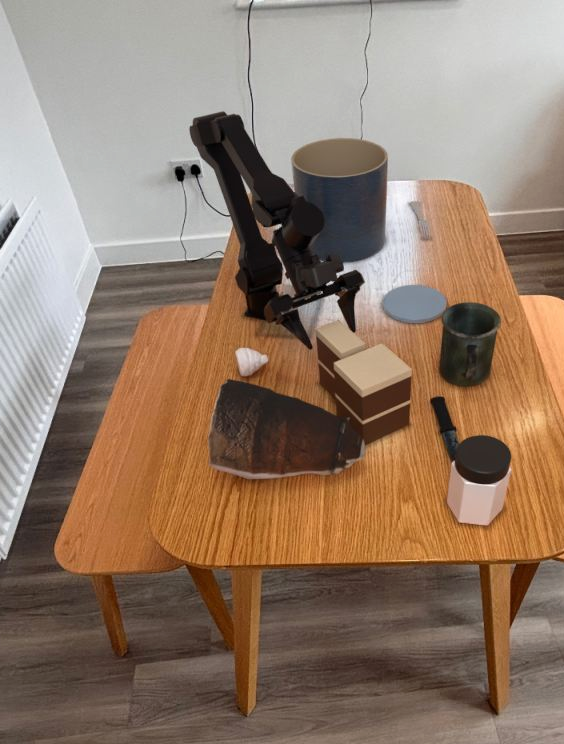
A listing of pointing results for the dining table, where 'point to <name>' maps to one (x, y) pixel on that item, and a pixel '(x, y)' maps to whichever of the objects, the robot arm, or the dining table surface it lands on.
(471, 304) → the mug
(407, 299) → the plate
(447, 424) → the knife
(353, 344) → the cake slice
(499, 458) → the jar
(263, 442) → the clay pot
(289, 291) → the napkin holder
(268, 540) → the dining table surface
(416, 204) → the fork
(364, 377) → the cake
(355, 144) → the planter
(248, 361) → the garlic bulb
